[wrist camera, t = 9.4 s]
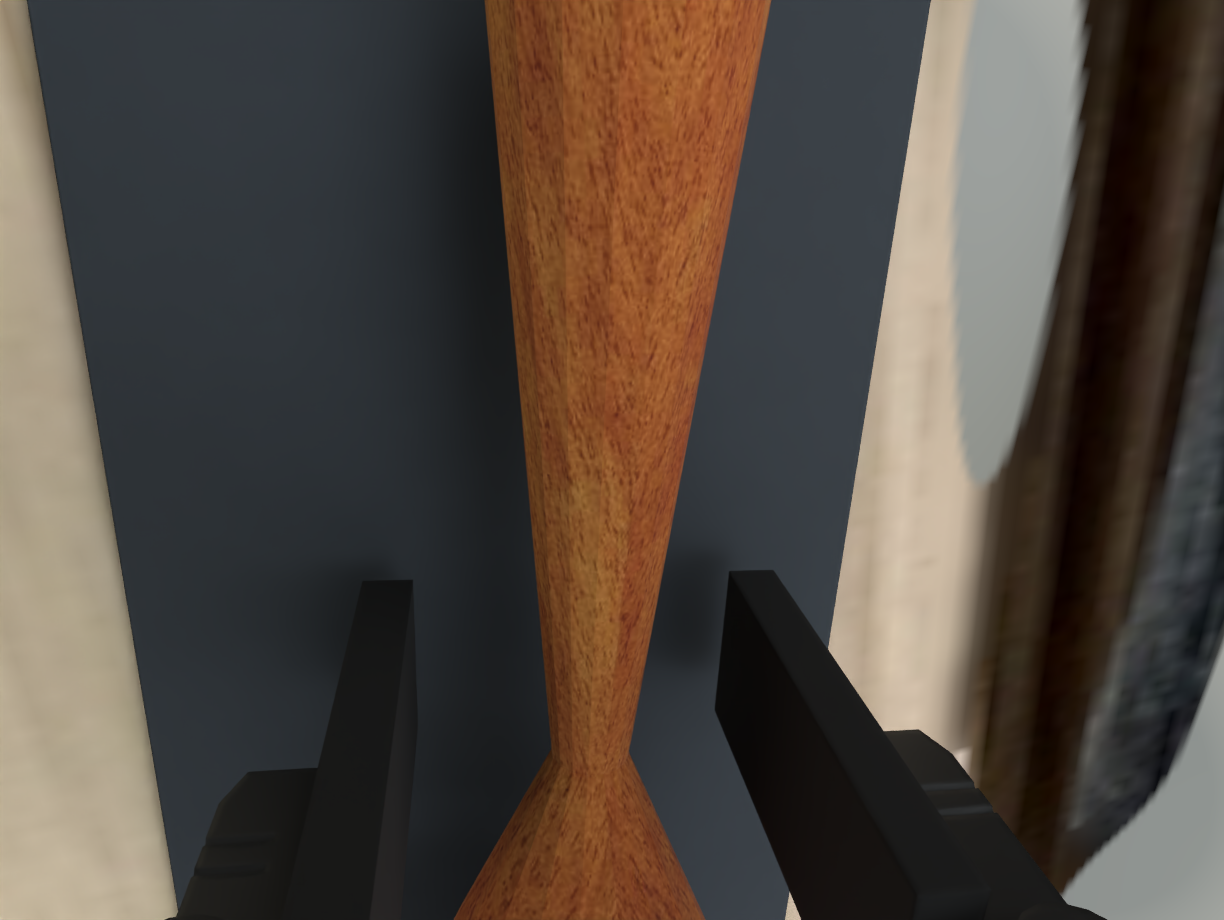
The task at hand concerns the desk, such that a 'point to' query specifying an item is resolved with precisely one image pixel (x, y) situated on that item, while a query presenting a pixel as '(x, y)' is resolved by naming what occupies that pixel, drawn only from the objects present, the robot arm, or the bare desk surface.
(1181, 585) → the desk surface
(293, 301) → the mat
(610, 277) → the kendama
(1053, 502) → the desk surface
